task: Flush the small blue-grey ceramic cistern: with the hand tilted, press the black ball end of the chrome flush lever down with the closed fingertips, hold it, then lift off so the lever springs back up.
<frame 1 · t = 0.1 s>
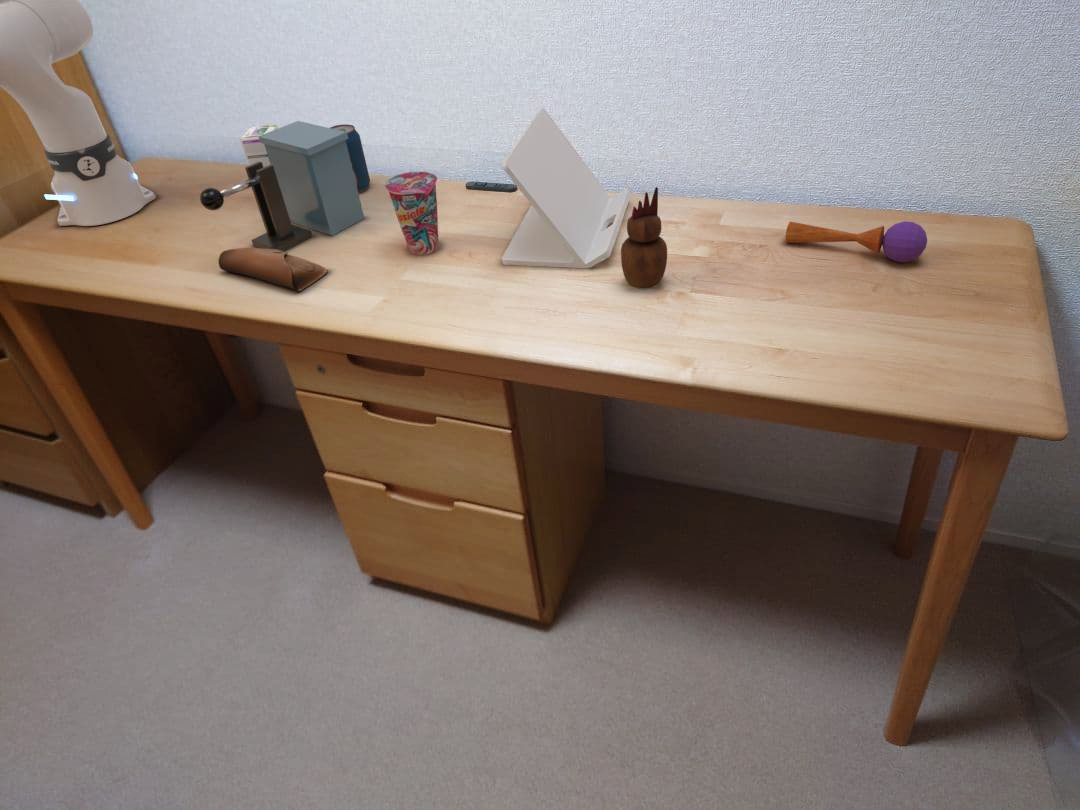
tablet stand: (570, 232, 132), on the table
syrup box: (281, 204, 152), on the table
soda can: (354, 189, 155), on the table
cup: (426, 249, 131), on the table
kendama: (851, 253, 118), on the table
cistern: (326, 219, 144), on the table
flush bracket: (283, 241, 138), on the table
wooden figurine: (643, 284, 116), on the table
sunglasses case: (275, 273, 129), on the table
flush lever: (235, 189, 127), point 12 cm above the table, hinge at 0.5°
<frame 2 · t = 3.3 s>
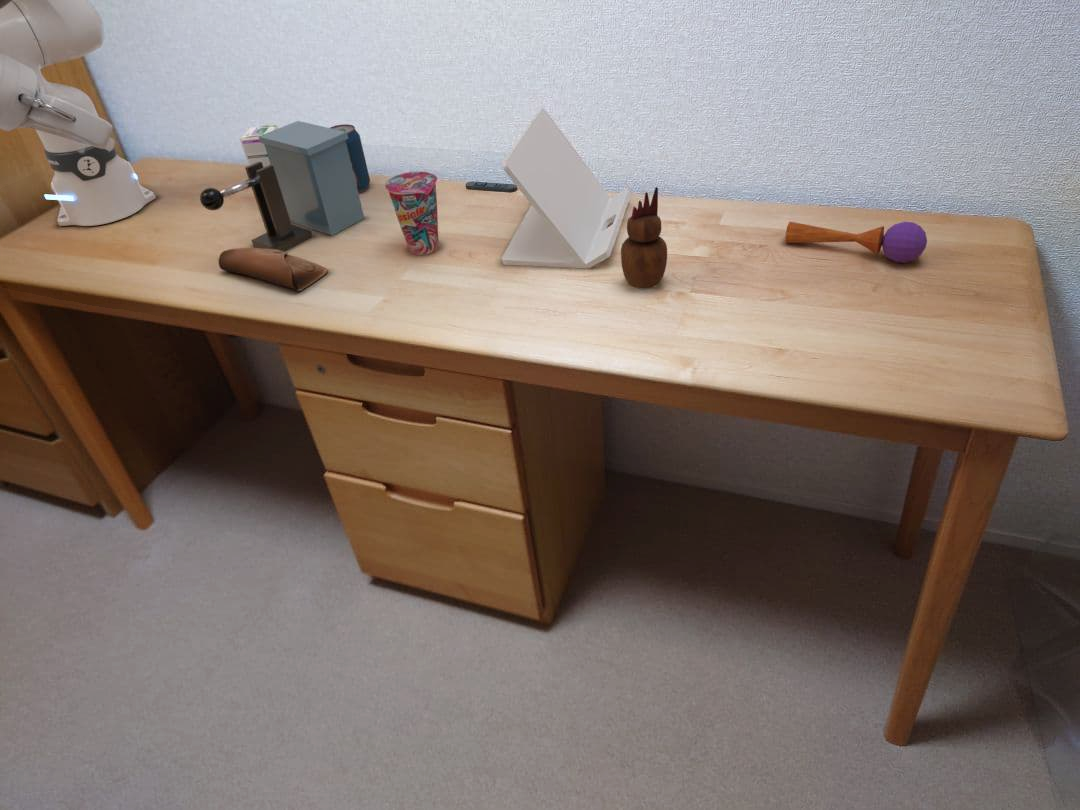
hand: (108, 144, 110), 25 cm above the table, tool tilted 45°, fingers closed
nothing on the table moved.
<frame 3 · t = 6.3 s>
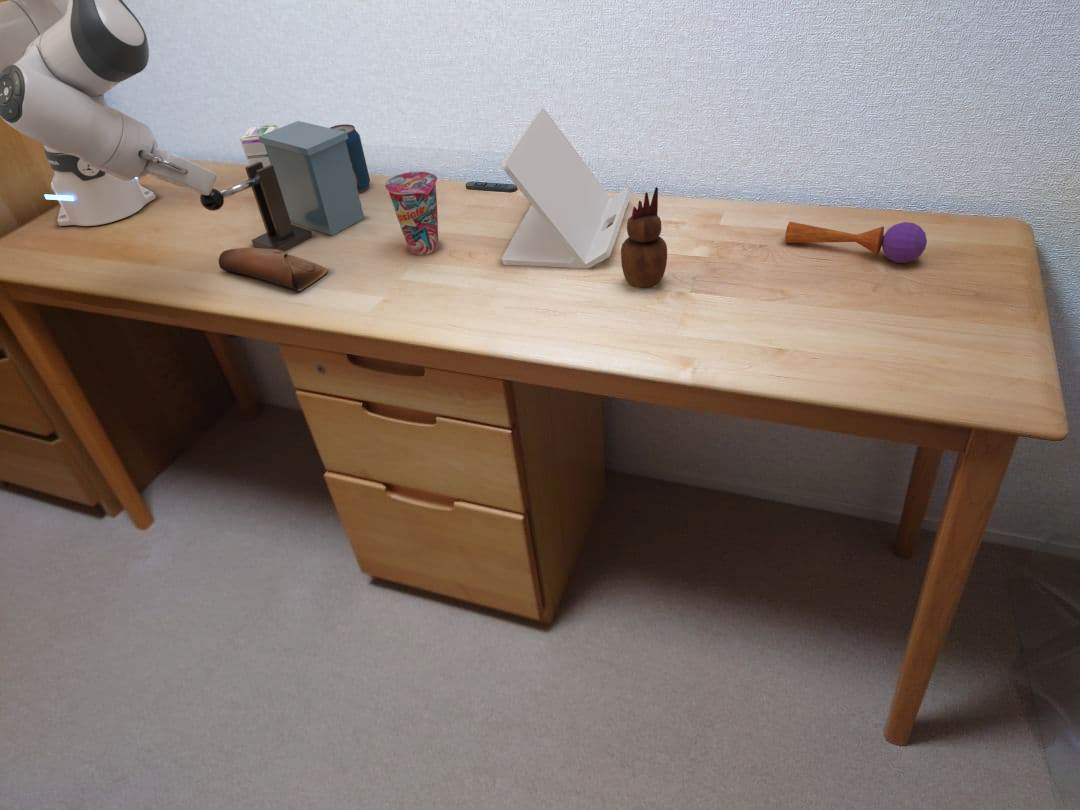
hand: (206, 187, 123), 14 cm above the table, tool tilted 45°, fingers closed, pressing on flush lever
flush lever: (235, 189, 127), point 12 cm above the table, hinge at 0.2°, touching gripper
everything else where it was.
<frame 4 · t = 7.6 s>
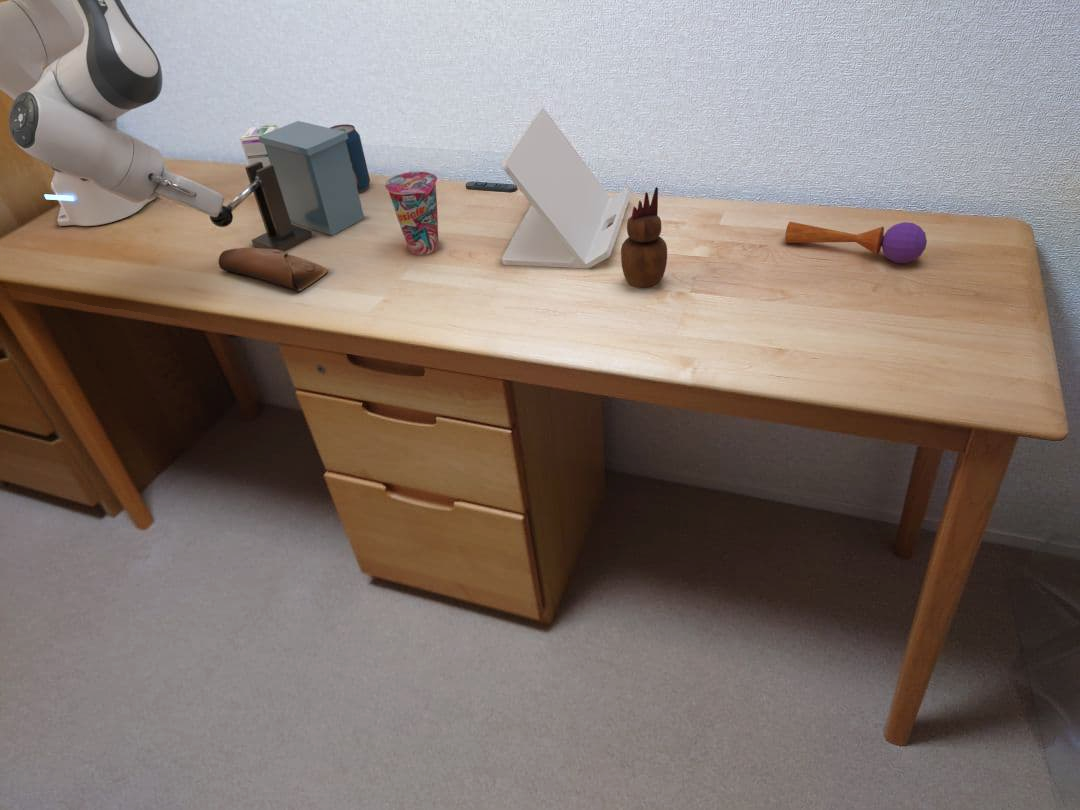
hand: (213, 207, 125), 11 cm above the table, tool tilted 45°, fingers closed, pressing on flush lever
flush lever: (240, 198, 129), point 10 cm above the table, hinge at -18.1°, touching gripper
everything else where it was.
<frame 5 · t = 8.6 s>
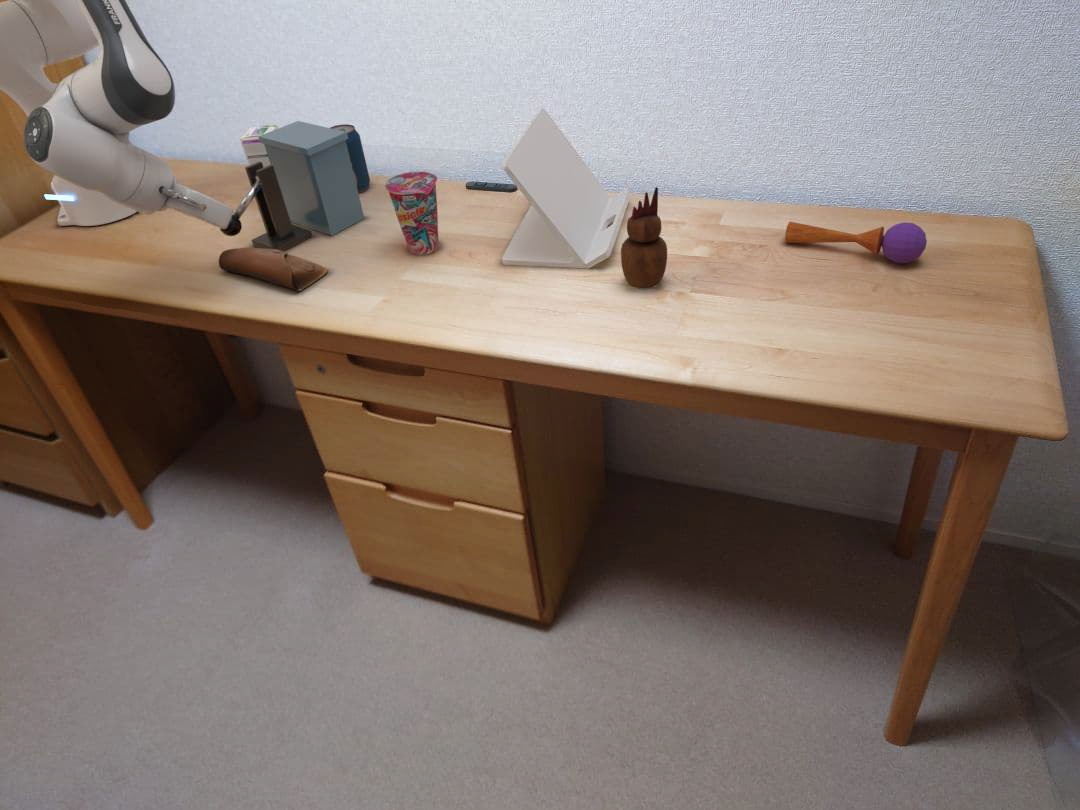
hand: (222, 219, 127), 8 cm above the table, tool tilted 45°, fingers closed, pressing on flush lever
flush lever: (245, 203, 130), point 9 cm above the table, hinge at -31.2°, touching gripper
everything else where it was.
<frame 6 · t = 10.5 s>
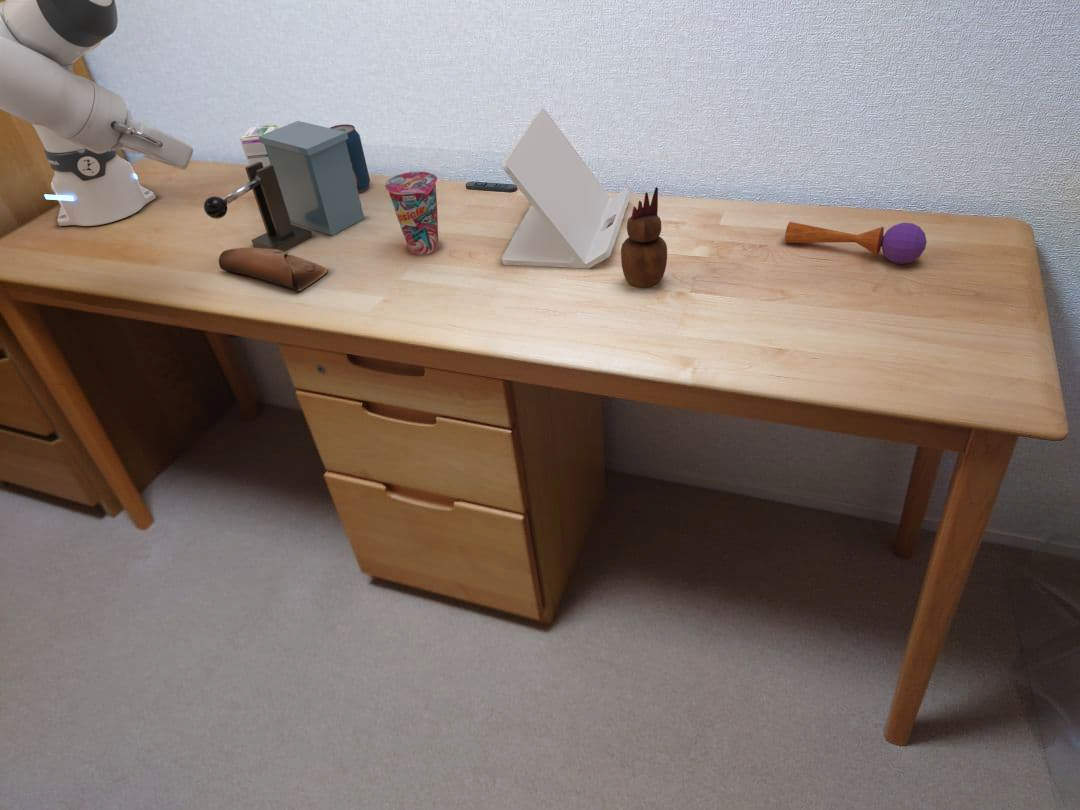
hand: (183, 162, 119), 19 cm above the table, tool tilted 45°, fingers closed
flush lever: (237, 193, 128), point 11 cm above the table, hinge at -8.1°
everything else where it was.
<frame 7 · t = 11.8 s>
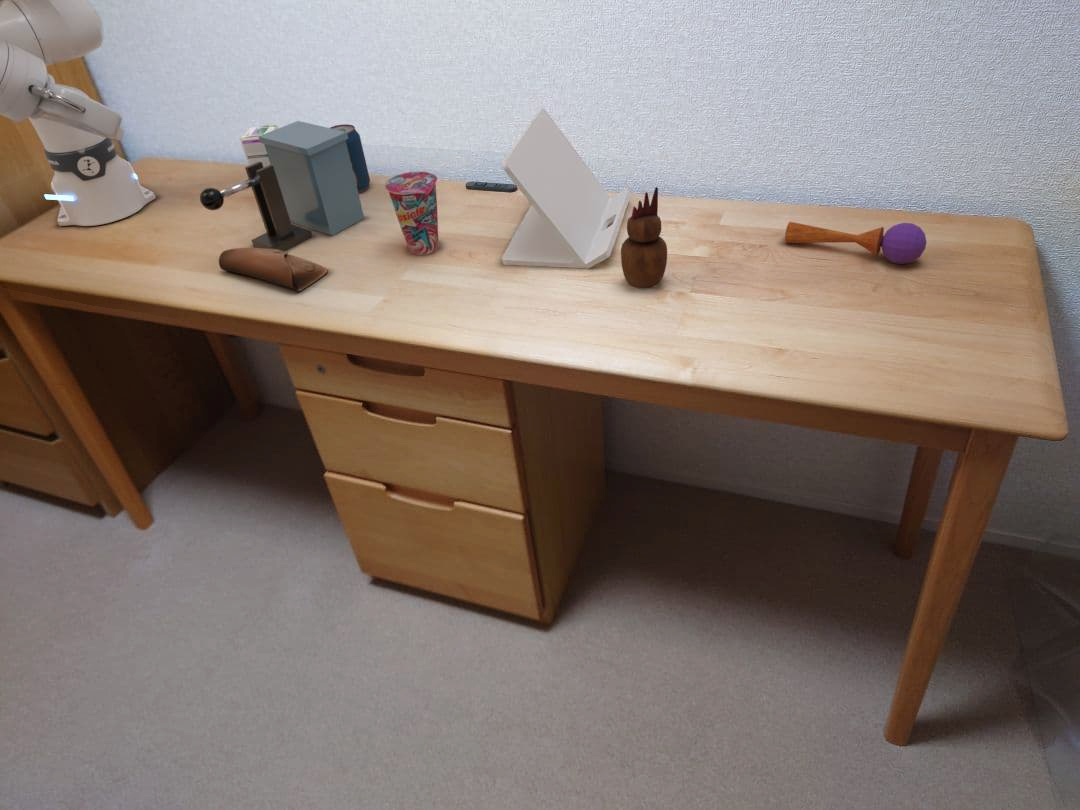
hand: (118, 134, 110), 26 cm above the table, tool tilted 45°, fingers closed
flush lever: (235, 189, 127), point 12 cm above the table, hinge at 0.5°
everything else where it was.
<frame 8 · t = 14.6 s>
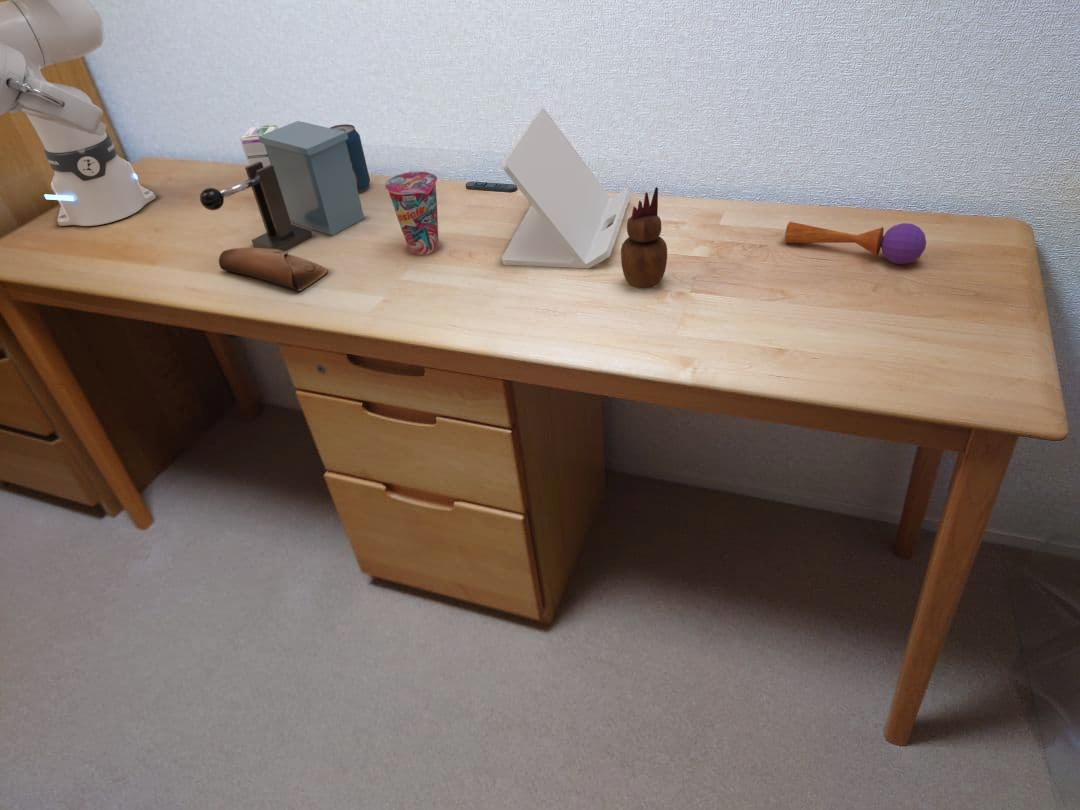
hand: (100, 129, 108), 27 cm above the table, tool tilted 45°, fingers closed
nothing on the table moved.
at the end: flush lever reached -31° during the clip, +0° at the end; flush lever at +0° (first picture: +0°) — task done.
